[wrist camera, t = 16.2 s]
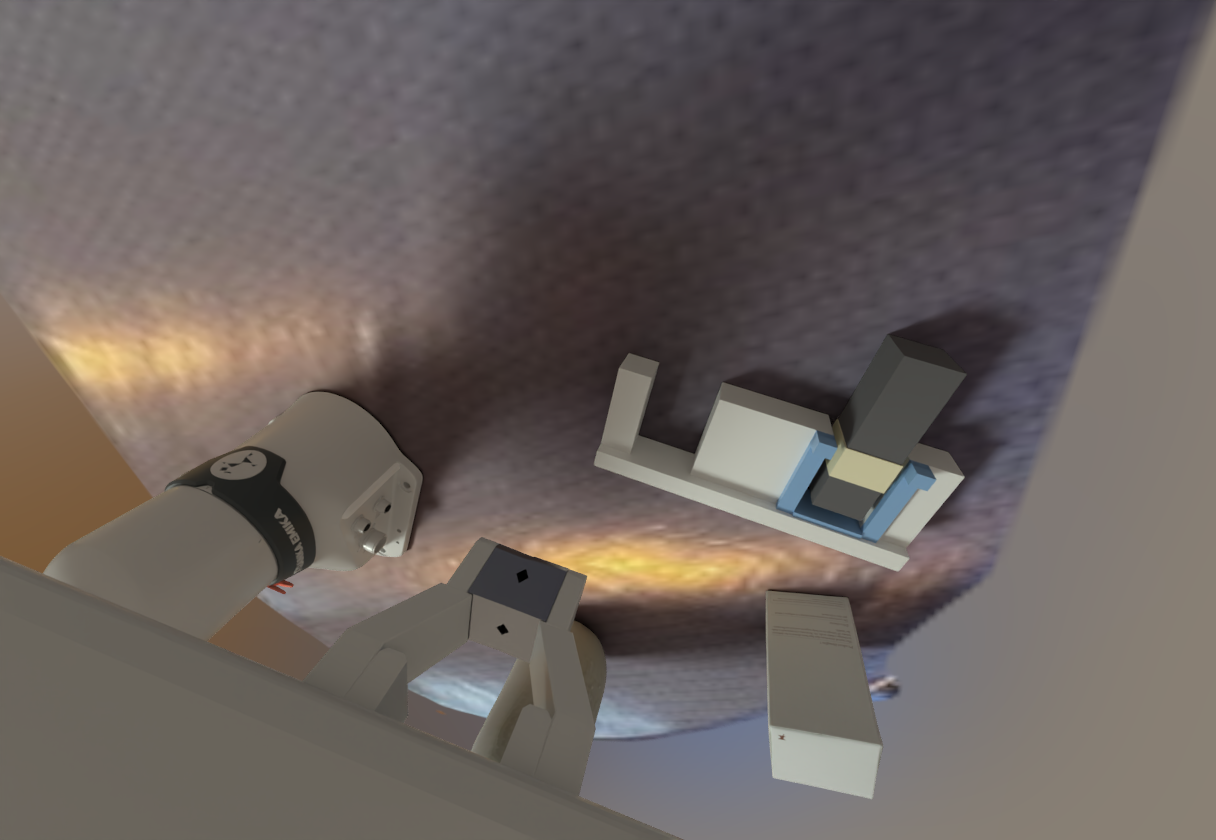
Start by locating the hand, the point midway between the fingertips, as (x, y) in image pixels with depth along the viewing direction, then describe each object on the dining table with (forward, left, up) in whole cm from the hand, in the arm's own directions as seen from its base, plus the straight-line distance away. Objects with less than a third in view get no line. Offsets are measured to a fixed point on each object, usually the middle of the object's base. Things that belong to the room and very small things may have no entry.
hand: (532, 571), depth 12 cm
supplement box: (-25, -20, -25) cm, 41 cm away
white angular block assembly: (-8, -9, -25) cm, 28 cm away
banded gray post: (-4, -15, -25) cm, 30 cm away
